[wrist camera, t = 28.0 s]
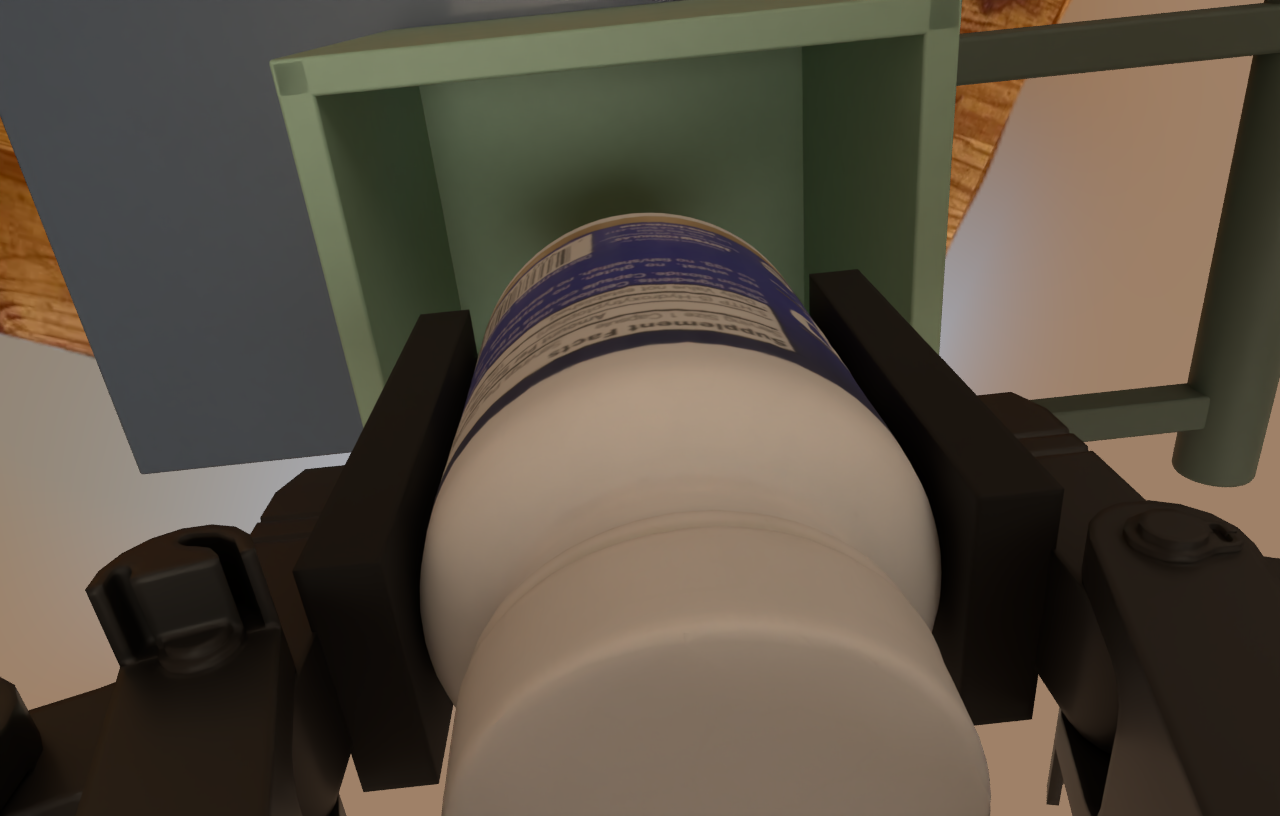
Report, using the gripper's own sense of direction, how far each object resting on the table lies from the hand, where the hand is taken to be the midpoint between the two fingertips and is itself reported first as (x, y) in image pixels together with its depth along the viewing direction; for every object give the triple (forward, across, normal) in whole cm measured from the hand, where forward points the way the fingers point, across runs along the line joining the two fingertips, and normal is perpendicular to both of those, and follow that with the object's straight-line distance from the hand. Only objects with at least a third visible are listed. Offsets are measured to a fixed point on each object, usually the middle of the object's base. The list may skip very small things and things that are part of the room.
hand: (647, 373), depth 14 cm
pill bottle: (0, 0, 0) cm, 0 cm away
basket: (+12, +4, 0) cm, 12 cm away
